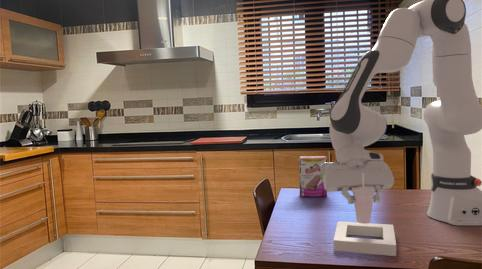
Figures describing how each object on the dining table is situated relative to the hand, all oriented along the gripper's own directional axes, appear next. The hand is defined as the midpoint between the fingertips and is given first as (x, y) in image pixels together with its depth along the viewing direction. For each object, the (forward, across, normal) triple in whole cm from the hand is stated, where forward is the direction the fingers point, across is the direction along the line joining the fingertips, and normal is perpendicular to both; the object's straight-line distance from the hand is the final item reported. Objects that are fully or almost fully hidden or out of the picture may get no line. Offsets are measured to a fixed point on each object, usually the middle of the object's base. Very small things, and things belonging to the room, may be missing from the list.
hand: (364, 202), depth 111 cm
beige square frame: (+8, 0, +9) cm, 12 cm away
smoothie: (+4, 0, +5) cm, 6 cm away
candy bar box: (-28, -1, +46) cm, 53 cm away
